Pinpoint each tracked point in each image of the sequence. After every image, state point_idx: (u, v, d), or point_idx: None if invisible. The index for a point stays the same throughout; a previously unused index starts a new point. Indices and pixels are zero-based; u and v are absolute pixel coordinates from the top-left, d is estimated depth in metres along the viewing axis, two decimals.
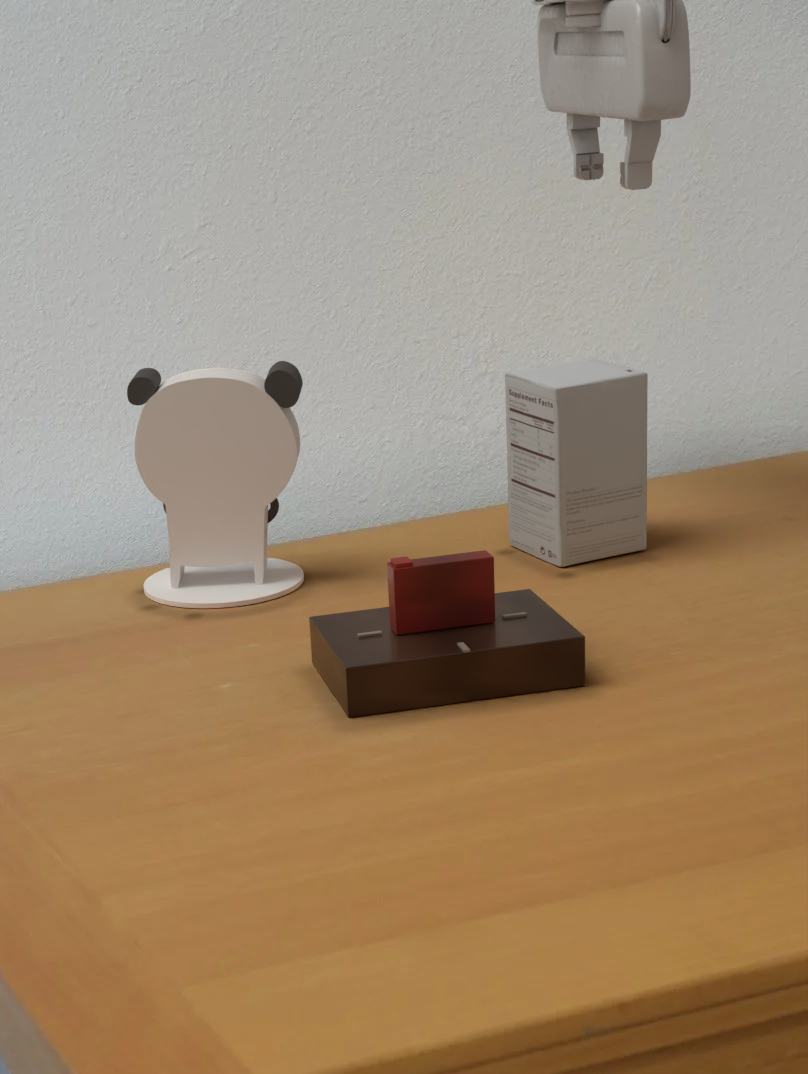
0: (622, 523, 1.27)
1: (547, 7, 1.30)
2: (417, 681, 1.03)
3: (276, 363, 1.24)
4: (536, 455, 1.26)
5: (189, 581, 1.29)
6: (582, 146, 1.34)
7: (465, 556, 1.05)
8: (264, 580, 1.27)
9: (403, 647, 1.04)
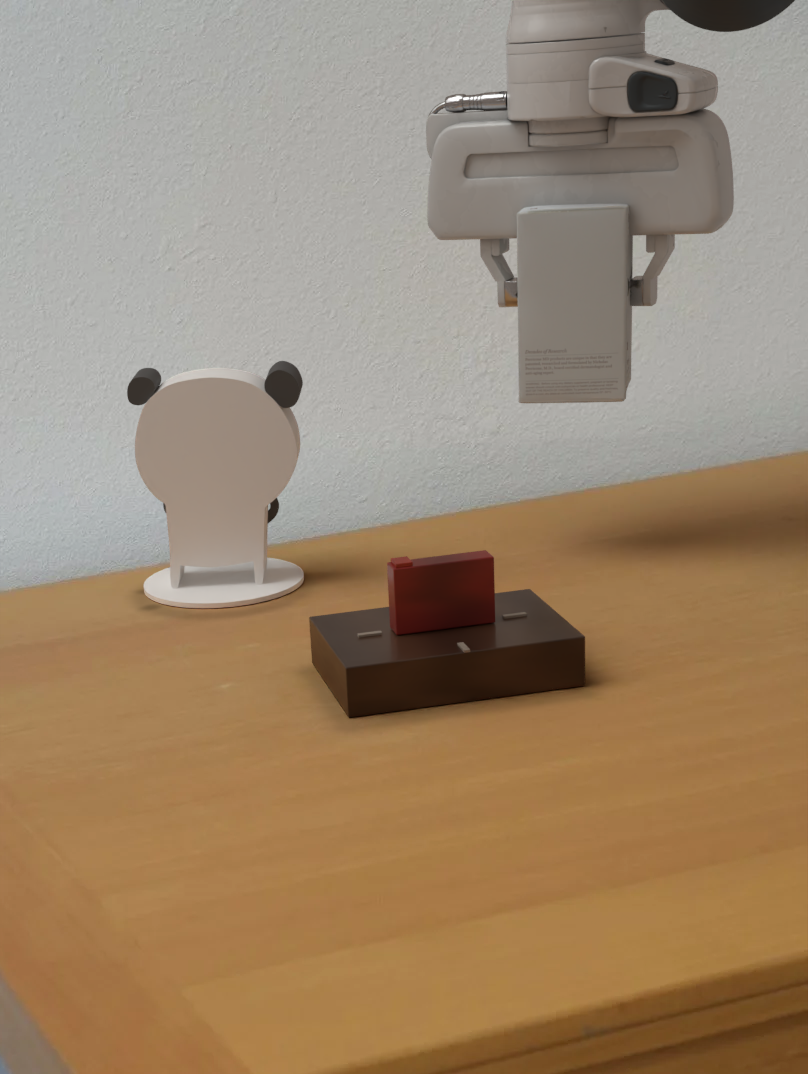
0: None
1: None
2: (417, 681, 1.03)
3: (276, 363, 1.24)
4: None
5: (189, 580, 1.29)
6: None
7: (465, 556, 1.05)
8: (264, 580, 1.27)
9: (403, 647, 1.04)
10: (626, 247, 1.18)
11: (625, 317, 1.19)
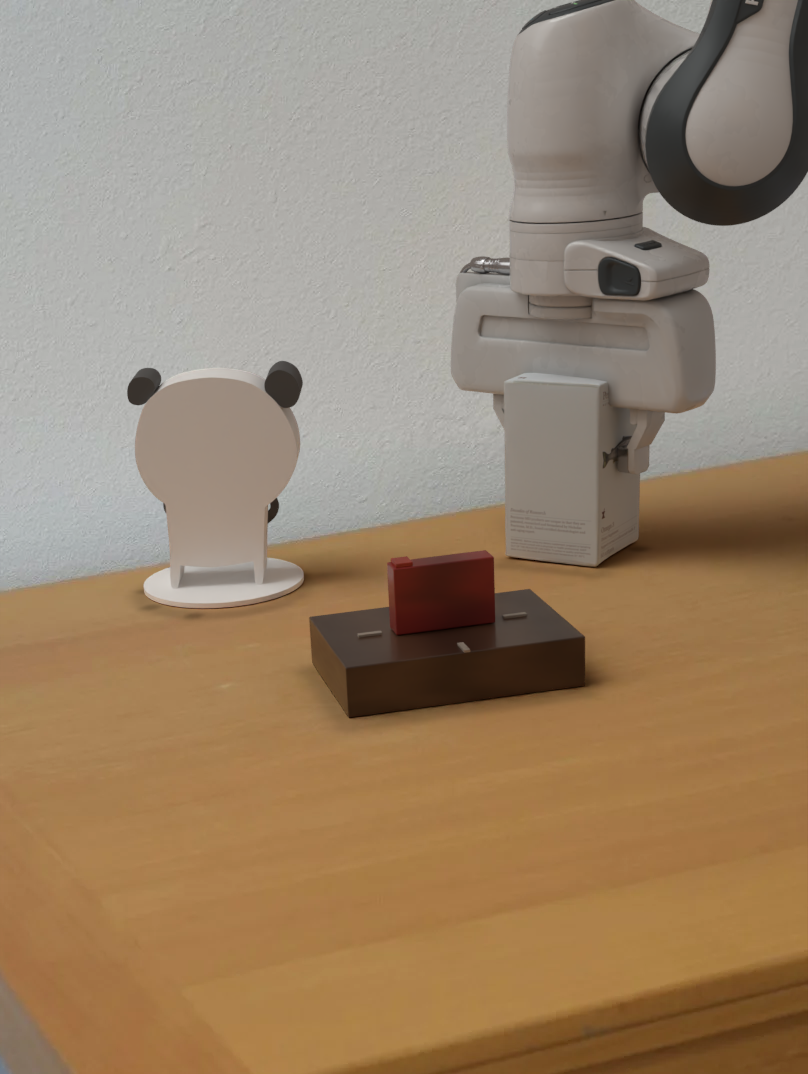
0: None
1: None
2: (417, 681, 1.03)
3: (276, 363, 1.24)
4: None
5: (189, 580, 1.29)
6: None
7: (465, 556, 1.05)
8: (264, 580, 1.27)
9: (403, 647, 1.04)
10: (599, 423, 1.22)
11: (597, 488, 1.24)
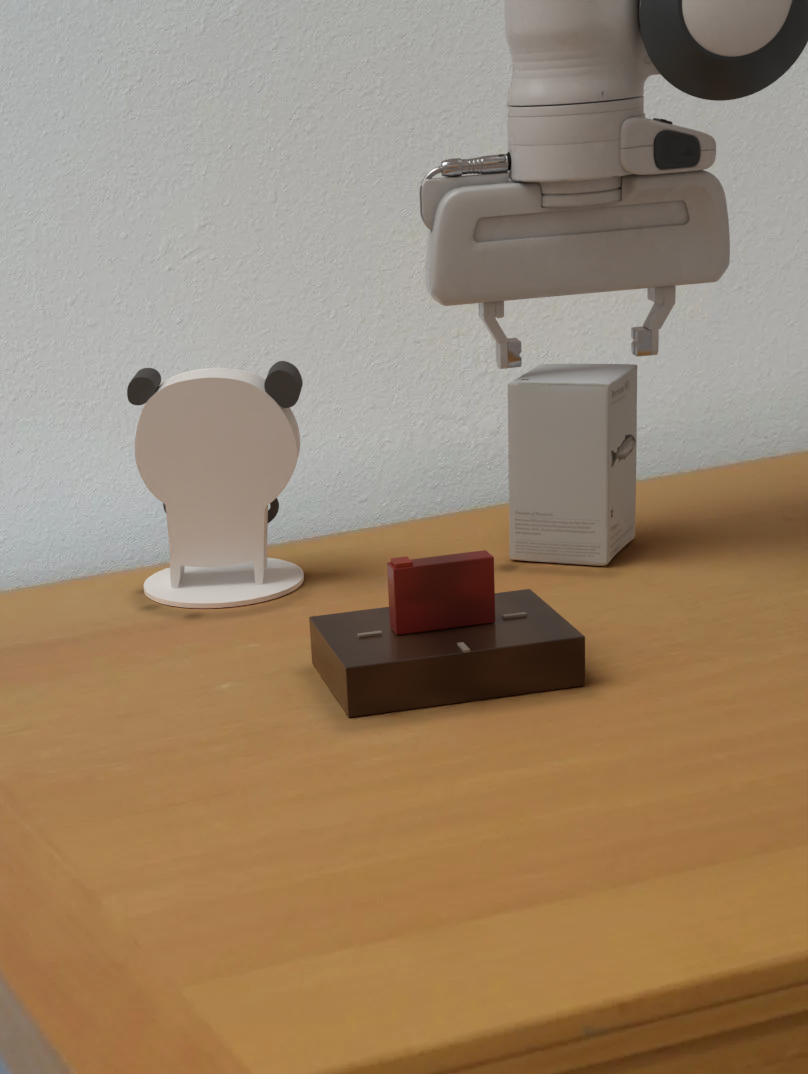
0: None
1: None
2: (417, 681, 1.03)
3: (276, 363, 1.24)
4: None
5: (189, 581, 1.29)
6: (648, 319, 1.25)
7: (465, 556, 1.05)
8: (264, 580, 1.27)
9: (403, 647, 1.04)
10: (608, 422, 1.22)
11: (607, 487, 1.24)
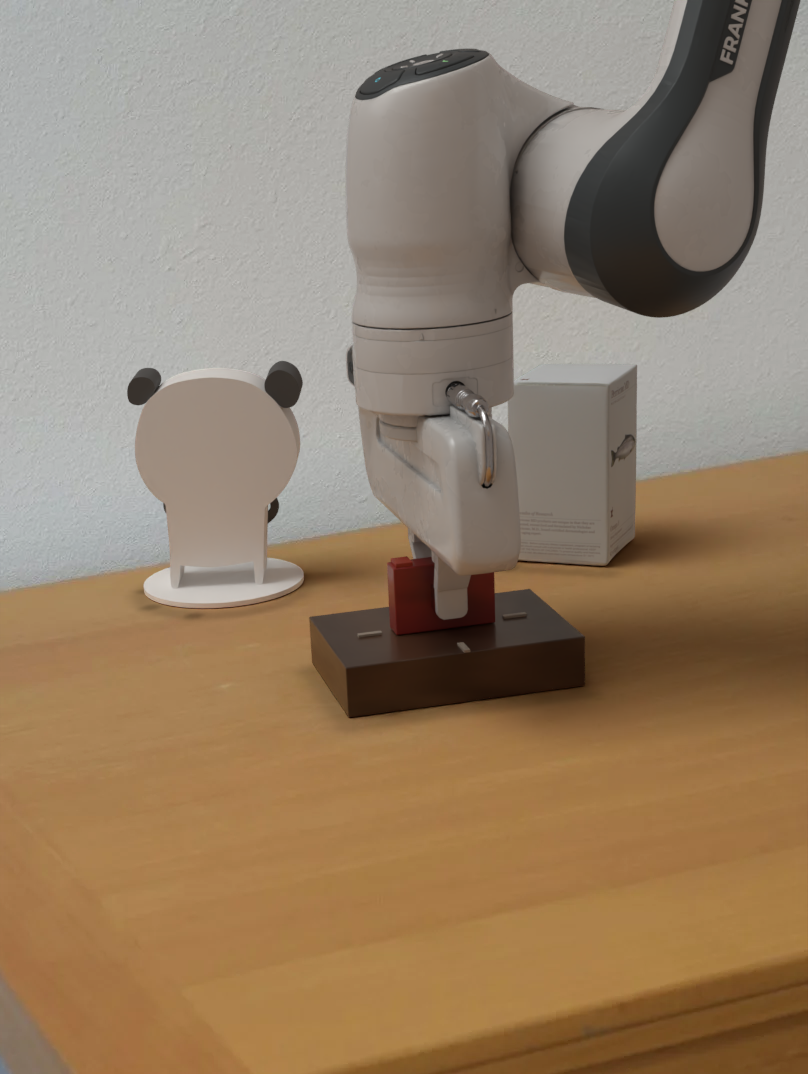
0: None
1: None
2: (417, 681, 1.03)
3: (276, 363, 1.24)
4: None
5: (189, 580, 1.29)
6: None
7: None
8: (264, 580, 1.27)
9: (403, 647, 1.04)
10: (608, 422, 1.22)
11: (607, 487, 1.24)
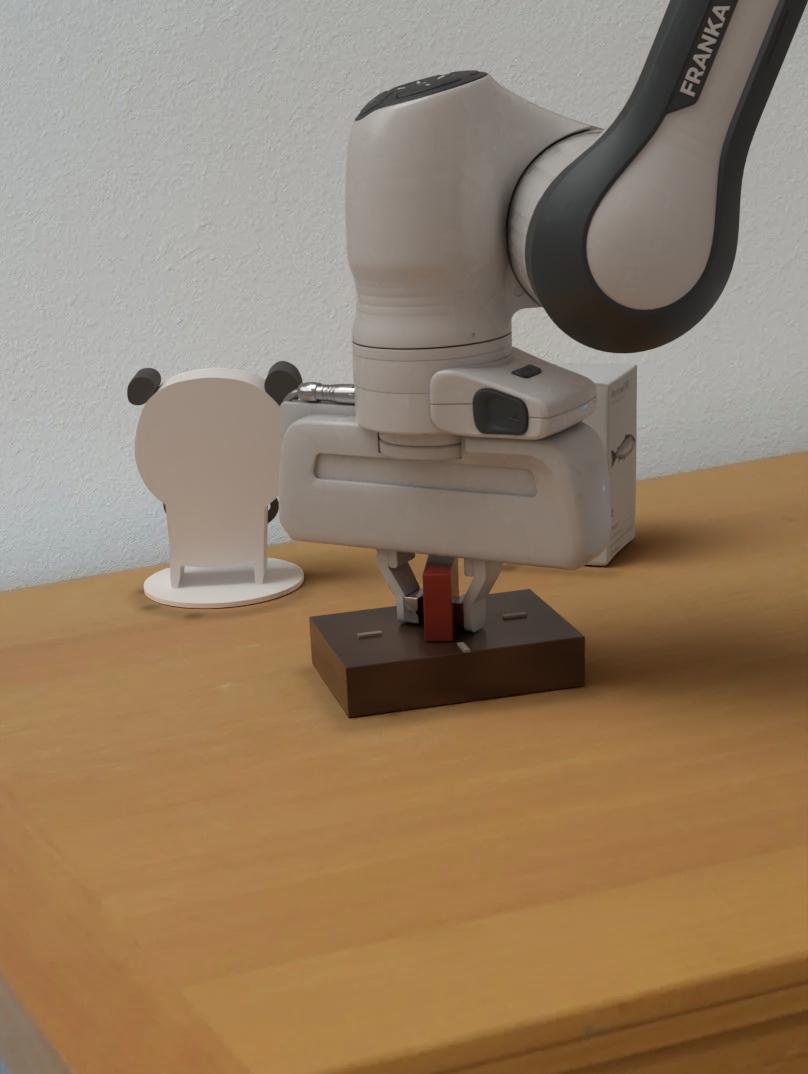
0: None
1: None
2: (417, 681, 1.03)
3: (276, 363, 1.24)
4: None
5: (189, 581, 1.29)
6: None
7: (436, 566, 1.04)
8: (264, 580, 1.27)
9: (403, 647, 1.04)
10: (608, 422, 1.22)
11: None
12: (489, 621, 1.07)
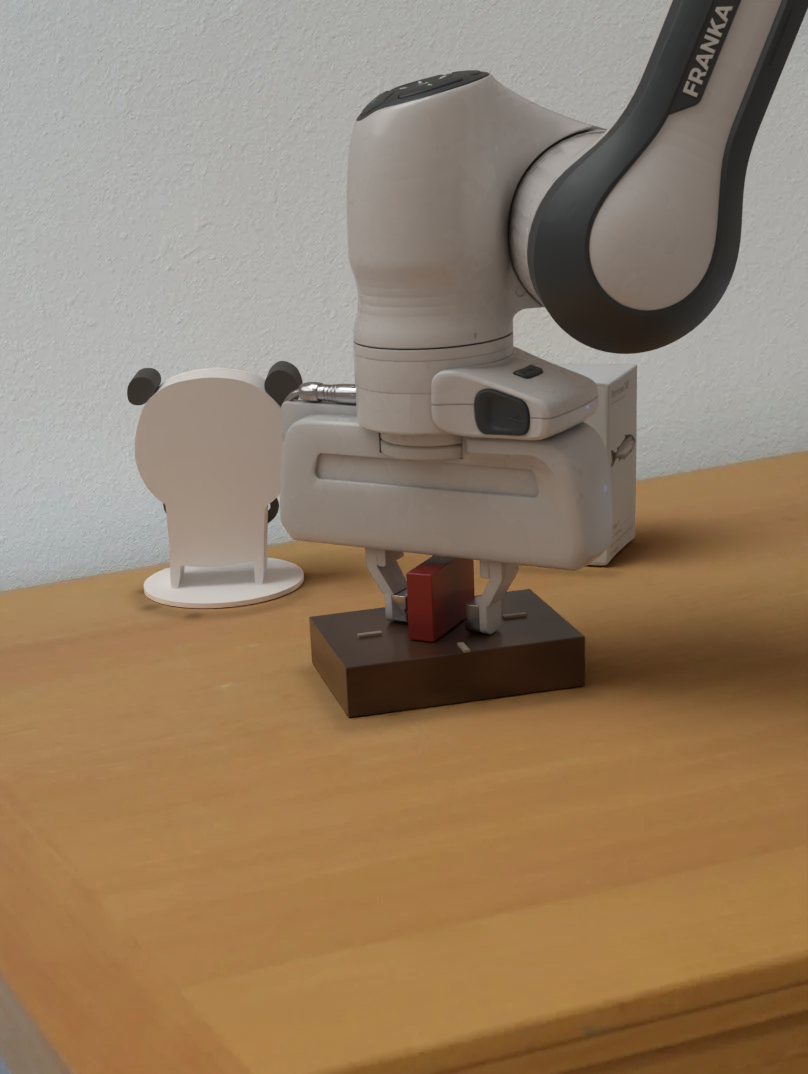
0: None
1: None
2: (417, 681, 1.03)
3: (276, 363, 1.24)
4: None
5: (189, 581, 1.29)
6: None
7: (428, 566, 1.04)
8: (264, 580, 1.27)
9: (403, 647, 1.04)
10: (608, 422, 1.22)
11: None
12: None
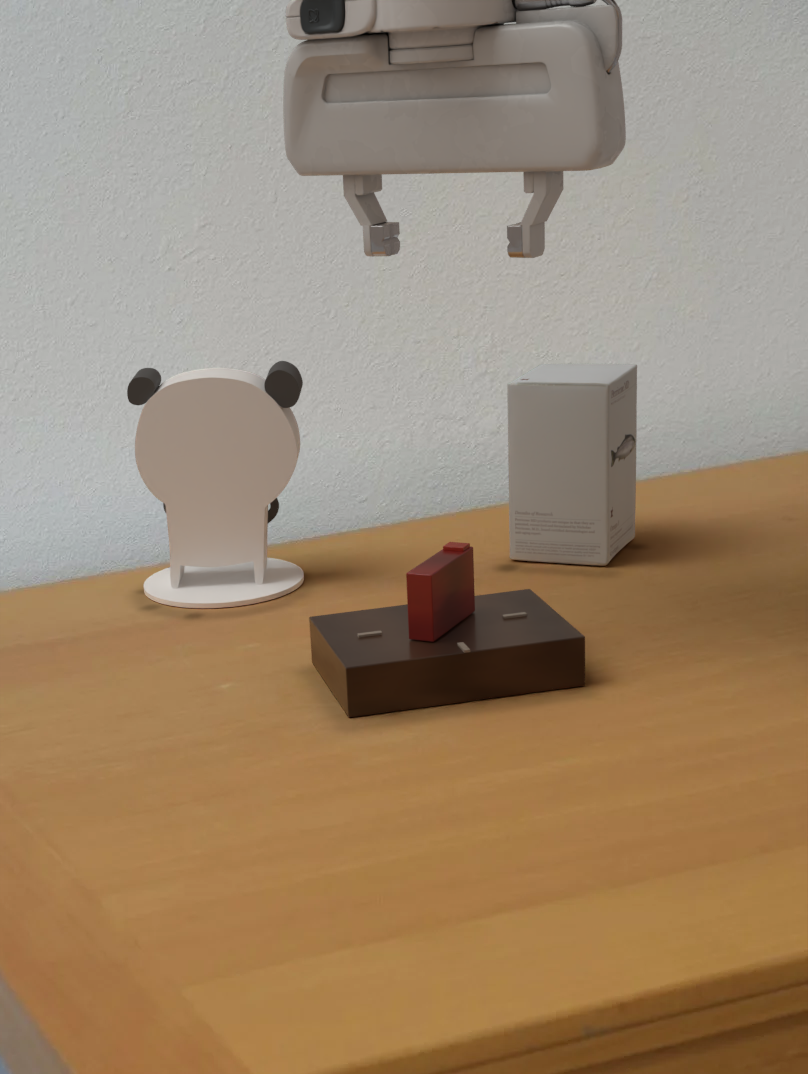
0: None
1: (331, 41, 1.01)
2: (417, 681, 1.03)
3: (276, 363, 1.24)
4: None
5: (189, 580, 1.29)
6: (372, 215, 1.06)
7: (428, 566, 1.04)
8: (264, 580, 1.27)
9: (403, 647, 1.04)
10: (608, 422, 1.22)
11: (607, 487, 1.24)
12: (489, 621, 1.07)
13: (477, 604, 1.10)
